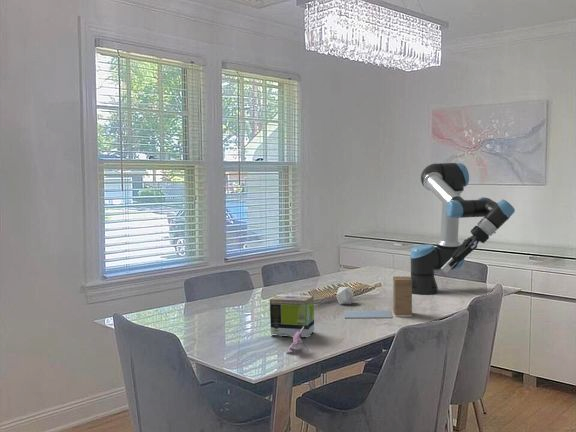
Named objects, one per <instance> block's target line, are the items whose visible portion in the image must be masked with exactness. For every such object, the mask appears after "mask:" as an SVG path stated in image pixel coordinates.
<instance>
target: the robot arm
mask: <svg viewBox="0 0 576 432" xmlns="http://www.w3.org/2000/svg"><path fill="white" fill-rule="evenodd" d="M469 174H470V173H469V170H468V168H467V166H466V165H465V164H464V163H462V162H460V163H459V162H446V163H445V162H444V163H443V162H442V163H441V162H440V163H438V162H437V163H436V162H435V163H431V164H429V165H427V166H426V167H425V168H424V169H423V170H422V172H421V174H420V183H421V185H422V186H423V188H425V189H426V190H427V191H431V192H432V194H434V195H435V197H436V198H437V199H439V200H440V202H441V217H440V219H441V220H440V237H439V240H438V241H437V242H436V246H435V245H434V244H430V243H429V244H419V245H414V246H413V247H411V250H410V255H409V257H410V278H411V279H412V294H414V295H433V294H437V293H438V292H439V287H438V285H437V284H438V283H437V281H436V280H437V279H436V278H435V271H442V272H444V273H445V274H448V272H449V271H452V270H457V269H460V268H461V267H462V266H463V265H464V263H465V260H466V259H465V258H466V257H467V256H468V255H470V254H471V253H472V252H474V251H475V250H476V249H477V248H478V244H479V243H482V244H485V243H486V242H487V241H488V240H489V239H490V237H491V236H492V235H494V234H496V233H497V230H499V228H501V227H502V226H503V225H504V224H505V223H506V221H508V220H509V219H510V218H511V216H512V215H514V213H515V210H516V209H515V207H514V206H513V205H512V204H510V202H508V200H505V199H501V200H500V201H498V202H497V201H495V200H493V199H492V198H488V197H485V196H483V197H480V198H478V199H464V198H463V197H461V193H463V192H464V189H465V187H467V186H468V184H469V182H470V175H469ZM460 218H461V219H462V218H481V219H480V221H478V222H477V224H476V225H474V226H473V228H472V229H470V232H469V233H471V234H472V235H471V236H469V237H467V239H466V238H465V239H464V240H463V242H462V243H461V242H459V223H460V222H459V221H460Z"/></svg>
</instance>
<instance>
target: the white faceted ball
mask: <svg viewBox="0 0 576 432" xmlns="http://www.w3.org/2000/svg"><path fill="white" fill-rule="evenodd" d="M336 294H337V295H335V298H336V297H337V298H336V300H337V301H338V304H339V305H351V304H352V302H353V300H354V296H355V294H354V292H353V290H352V288H351V286H339V287H338V290H337V292H336Z"/></svg>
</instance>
